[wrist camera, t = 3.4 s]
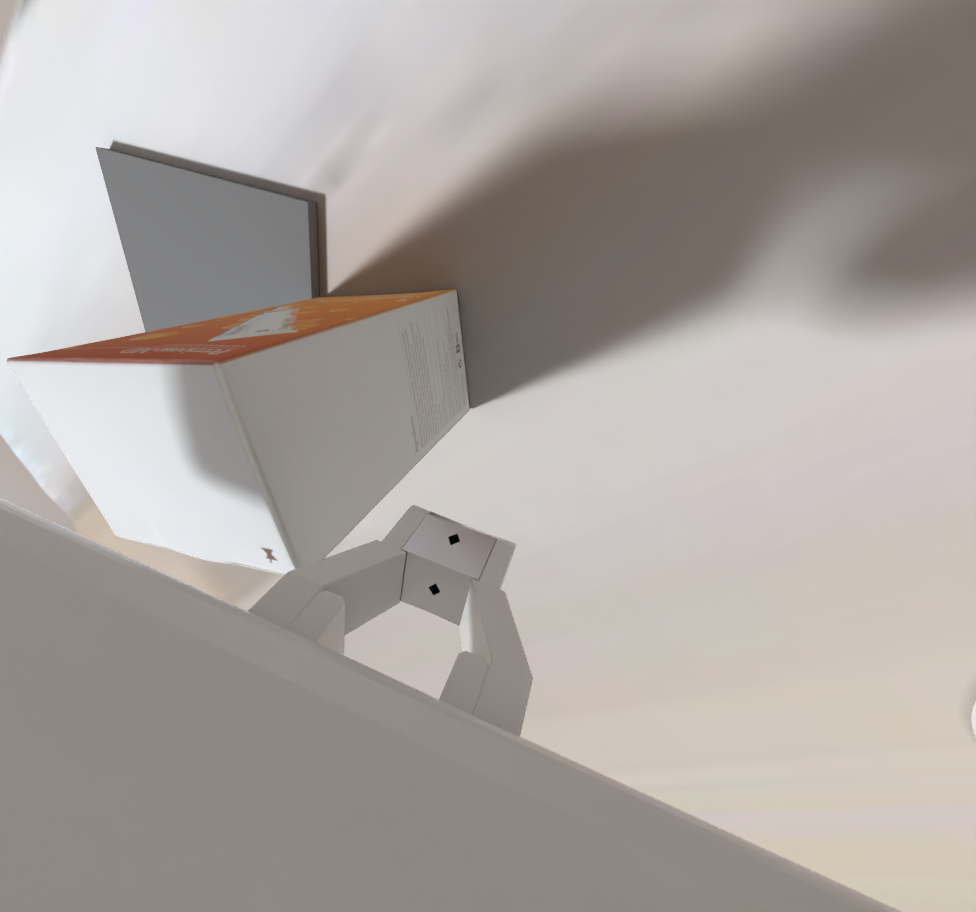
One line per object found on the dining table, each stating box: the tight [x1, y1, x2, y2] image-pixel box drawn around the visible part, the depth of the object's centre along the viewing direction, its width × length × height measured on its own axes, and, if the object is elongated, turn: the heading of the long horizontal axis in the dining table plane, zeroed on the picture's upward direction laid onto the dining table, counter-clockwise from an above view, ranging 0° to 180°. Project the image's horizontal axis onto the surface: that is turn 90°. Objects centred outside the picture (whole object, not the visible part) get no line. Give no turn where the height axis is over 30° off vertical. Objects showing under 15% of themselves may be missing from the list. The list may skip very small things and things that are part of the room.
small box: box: [7, 289, 469, 575], centre depth 16 cm, size 8×6×13 cm
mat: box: [96, 147, 319, 332], centre depth 23 cm, size 13×12×1 cm
